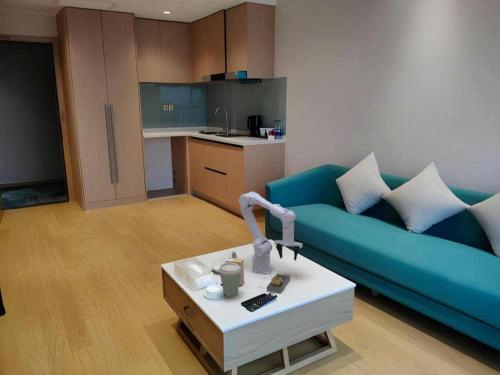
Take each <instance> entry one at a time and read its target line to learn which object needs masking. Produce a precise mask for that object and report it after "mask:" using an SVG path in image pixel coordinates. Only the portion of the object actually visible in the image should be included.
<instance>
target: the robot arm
mask: <svg viewBox="0 0 500 375" xmlns="http://www.w3.org/2000/svg"><path fill="white" fill-rule="evenodd" d="M238 203H239V207H240V212H241V214H242V217H243V219H244V221H245V223H246V226H247V228H248V230H249V232H250V234H251V236H252V238H253V244H252V246H253V251H254V253H253V255H252V259H251V264H252V265H251V272H254V273H260V274H270V272H271V271H272V270H273V267H272V266H271V251H272V250H273V245H274V246H275V249H276V250H277V253H278V256H279V259H283V248H284V247H293V260H294V261H296V260H297V257H298V254H299V251H300V250H301V248H303V243H301V242H297V241H295V240H294V239H295V220H296V218H297V215H296V213H295V212H294V211H293V210H292V209H291V210H289V209H287V208H284V207H283V206H281V204H279V203H278V204H277V203H275V204H273V203H271V202H270V201H268V200H267V199H265V198H263V196H261V195H260V194H259V193H258V192H255V191H253V190H252V191H249V192H248V193H244V194H241V195H240V196H239V199H238ZM254 205H259V206H260V207H261V208H262V207H263V208H264V209H267V211H268V210H269V213H270V214H271V215H273V216H274V217H276V218H278V219H279V220H280V222H281V223H282V239H281V240H280V239H275V240H274V243H273V244H272V243H271V241H269V239H268V238H267V237H265V236H264V235H263V232H262V230H261V228H260V226H259V223H258V222H257V220H256V217H255V215H254V212H253V211H252V210H253V207H254Z"/></svg>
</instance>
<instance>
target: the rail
mask: <svg viewBox="0 0 500 375" xmlns="http://www.w3.org/2000/svg"><path fill="white" fill-rule="evenodd" d="M275 276H278V277H282V285H281V286H280V287H278V286H272V285H271V281H270V282H269V284H268V285H266V292H268V293H269V292H270V293H274V294H275V293H276V294H282V292H283V291H284V289H285V288H286V286H288V283H289V282H290V280H291V275H289V274H282V273H276V274H275Z"/></svg>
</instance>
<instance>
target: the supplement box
mask: <svg viewBox="0 0 500 375" xmlns="http://www.w3.org/2000/svg"><path fill="white" fill-rule="evenodd" d="M226 262H231V263H236V264H238V265H239V266H240V267H241V271H240V279H239V287H242V286H243V284H244V283H245V273H244V272H245V270H244V268H245V267H244V265H245V264H244V258H239V257H237V258H231V257H229V258H228V259H227V260H226Z"/></svg>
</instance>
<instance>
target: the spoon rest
mask: <svg viewBox="0 0 500 375" xmlns="http://www.w3.org/2000/svg"><path fill="white" fill-rule="evenodd" d="M229 257H231V258H238V255H237V253H236V252H235V251H231V250H227V251H226V252H225V253H223V255H221V256H220V257H218V258H217V259H216V260H215V261H214V262H212V263H211V267H210V268H211V270H213V271H214V272H215V273H218V274H220V272H219V268H220V265H221V264H222V263H226V260H227V259H228V258H229Z"/></svg>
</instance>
